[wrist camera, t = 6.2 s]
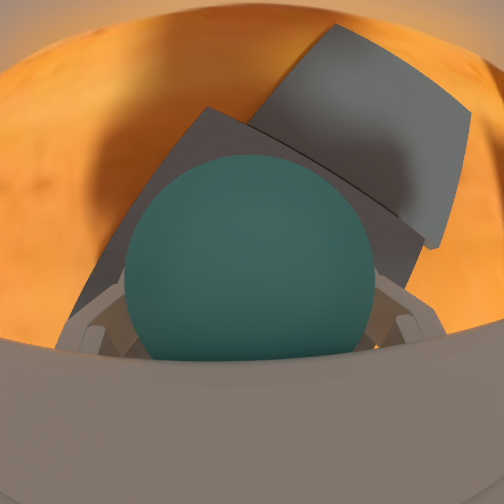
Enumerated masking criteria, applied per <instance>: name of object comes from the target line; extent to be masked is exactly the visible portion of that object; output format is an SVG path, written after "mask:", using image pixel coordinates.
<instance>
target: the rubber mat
mask: <svg viewBox="0 0 504 504" xmlns="http://www.w3.org/2000/svg"><path fill="white" fill-rule="evenodd" d="M470 119H471V112H470V111H469V110H467V109H466V108H465V107H464V106H463V105H462V104H461V103H459V102H458V101H457V100H456V99H455V98H454V97H452V96H451V95H450V94H449V93H447V92H446V91H445V90H444V89H442V88H441V87H440V86H439V85H437V84H436V83H435V82H433V81H432V80H431V79H429V78H428V77H426V76H425V75H424V74H422V73H421V72H419V71H418V70H417V69H415V68H414V67H412V66H411V65H409V64H408V63H406V62H405V61H403V60H402V59H400V58H398V57H397V56H395V55H394V54H392V53H390V52H389V51H387V50H385V49H384V48H382V47H380V46H378V45H377V44H375V43H373V42H371V41H369V40H368V39H366V38H364V37H362V36H360V35H358V34H356V33H354V32H352V31H350V30H348V29H346V28H344V27H342V26H340V25H338V24H335V25H334V26H333V27H332V28H331V29H330V30H329V31H328V32H327V33H326V34H325V35H324V36H323V37H322V38H321V39H320V40H319V41H318V42H317V43H316V44H315V45H314V46H313V48H312V49H311V50H310V51H309V52H308V53H307V54H306V55H305V56H304V57H303V58H302V60H301V61H300V62H299V63H298V64H297V65H296V66H295V67H294V68H293V70H292V71H291V72H290V73H289V74H288V75H287V76H286V78H285V79H284V80H283V81H282V82H281V83H280V84H279V86H278V87H277V88H276V89H275V90H274V92H273V93H272V94H271V95H270V96H269V97H268V99H267V100H266V101H265V102H264V103H263V105H262V106H261V107H260V108H259V110H258V111H257V112H256V113H255V115H254V116H253V117H252V118H251V120H250V121H249V122H248V123H247V125H248V126H250V127H251V128H253V129H255V130H257V131H259V132H261V133H263V134H265V135H267V136H269V137H271V138H272V139H274V140H276V141H278V142H280V143H282V144H283V145H285V146H287V147H289V148H291V149H292V150H294V151H296V152H298V153H299V154H301V155H303V156H305V157H306V158H308V159H310V160H311V161H313V162H315V163H316V164H318V165H320V166H321V167H323V168H325V169H326V170H328V171H329V172H331V173H333V174H334V175H336V176H337V177H339V178H341V179H342V180H344V181H345V182H347V183H348V184H350V185H351V186H353V187H354V188H356V189H357V190H359V191H360V192H362V193H363V194H365V195H366V196H368V197H369V198H371V199H372V200H374V201H375V202H376V203H378V204H379V205H381V206H382V207H384V208H385V209H386V210H388V211H389V212H390V213H392V214H393V215H395V216H396V217H397V218H399V219H400V220H401V221H403V222H404V223H405V224H407V225H408V226H409V227H411V228H412V229H413V230H415V231H416V232H417V233H418V234H420V235H421V236H422V237H423V238H425V241H424V244H423V245H424V246H426V247H427V248H428V249H430V250H432V249H436V248H439V245H440V243H441V240H442V237H443V234H444V231H445V228H446V225H447V221H448V218H449V215H450V212H451V208H452V205H453V201H454V198H455V194H456V190H457V186H458V182H459V178H460V174H461V169H462V165H463V160H464V155H465V150H466V145H467V139H468V133H469V126H470Z"/></svg>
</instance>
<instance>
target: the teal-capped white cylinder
mask: <svg viewBox="0 0 504 504" xmlns="http://www.w3.org/2000/svg"><path fill="white" fill-rule="evenodd" d="M124 291H125V298H126V305H127V309H128V312H129V316H130V319H131V322H132V325H133V327H134V329H135V332H136V334H137V336H138V338H139V340H140V342H141V343H142V345H143V347H144V348H145V350H146V351H147V353H148V354H149V355H150V356H151V358H152V359H153V360H170V361H255V360H275V359H291V358H303V357H314V356H324V355H333V354H341V353H349V352H353V350H354V349H355V347H356V346H357V344H358V343H359V341H360V339H361V337H362V335H363V333H364V331H365V329H366V326H367V323H368V320H369V317H370V314H371V311H372V306H373V301H374V294H375V265H374V259H373V254H372V249H371V246H370V243H369V240H368V237H367V234H366V231H365V229H364V227H363V225H362V223H361V221H360V219H359V217H358V216H357V214H356V213H355V211H354V210H353V208H352V207H351V205H350V204H349V203H348V202H347V200H346V199H345V198H344V197H343V196H342V195H341V193H340V192H339V191H338V190H336V189H335V188H334V187H333V186H332V185H331V184H330V183H329V182H327V181H326V180H325V179H323V178H322V177H320V176H319V175H317V174H316V173H314V172H312V171H311V170H309V169H307V168H305V167H303V166H301V165H298V164H296V163H293V162H290V161H288V160H284V159H280V158H276V157H271V156H263V155H235V156H229V157H222V158H219V159H215V160H212V161H208V162H206V163H203V164H201V165H199V166H196V167H194V168H192V169H190V170H189V171H187V172H185V173H184V174H182V175H180V176H179V177H177V178H176V179H175V180H173V181H172V182H171V183H170V184H168V185H167V186H166V187H165V188H164V189H163V190H162V191H161V192H160V193H159V194H158V195H157V196H156V197H155V198H154V199H153V201H152V202H151V203H150V204H149V206H148V207H147V208H146V210H145V211H144V213H143V215H142V216H141V218H140V220H139V222H138V223H137V225H136V228H135V230H134V232H133V235H132V237H131V240H130V243H129V247H128V251H127V255H126V262H125V270H124Z"/></svg>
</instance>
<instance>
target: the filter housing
mask: <svg viewBox="0 0 504 504" xmlns="http://www.w3.org/2000/svg"><path fill="white" fill-rule="evenodd" d="M235 155H263V156H271V157H276V158H280V159H284V160H288V161H290V162H293V163H296V164H298V165H301V166H303V167H305V168H307V169H309V170H311V171H312V172H314V173H316V174H317V175H319V176H320V177H322V178H323V179H325V180H326V181H327V182H329V183H330V184H331V185H332V186H333V187H334V188H335V189H336V190H338V191H339V192H340V193H341V195H342V196H343V197H344V198H345V199H346V200H347V202H348V203H349V204H350V205H351V207H352V208H353V210H354V211H355V213H356V214H357V216H358V217H359V219H360V221H361V223H362V225H363V227H364V229H365V231H366V234H367V237H368V240H369V243H370V246H371V249H372V254H373V259H374V265H375V268H376V270H377V272H378V273H379V275H380V276H385V277H386V278H388V279H389V280H391V281H392V282H394V283H395V284H397V285H398V286H400V287H401V288H403V289H405V286H406V284H407V282H408V280H409V278H410V275H411V273H412V271H413V268H414V266H415V264H416V261H417V259H418V256H419V254H420V252H421V249H422V246H423V244H424V241H425V238H423V237H422V236H421V235H420V234H418V233H417V232H416V231H415V230H413V229H412V228H411V227H409V226H408V225H407V224H405V223H404V222H403V221H401V220H400V219H399V218H397V217H396V216H395V215H393V214H392V213H390V212H389V211H388V210H386V209H385V208H384V207H382V206H381V205H379V204H378V203H376V202H375V201H374V200H372V199H371V198H369V197H368V196H366V195H365V194H363V193H362V192H360V191H359V190H357V189H356V188H354V187H353V186H351V185H350V184H348V183H347V182H345V181H344V180H342V179H341V178H339V177H337V176H336V175H334V174H333V173H331V172H329V171H328V170H326V169H325V168H323V167H321V166H320V165H318V164H316V163H315V162H313V161H311V160H310V159H308V158H306V157H305V156H303V155H301V154H299V153H298V152H296V151H294V150H292V149H291V148H289V147H287V146H285V145H283V144H282V143H280V142H278V141H276V140H274V139H272V138H271V137H269V136H267V135H265V134H263V133H261V132H259V131H257V130H255V129H253V128H251V127H250V126H248V125H246V124H244V123H242V122H240V121H238V120H235V119H233V118H231V117H229V116H227V115H225V114H223V113H221V112H219V111H217V110H214V109H212V108H210V107H208V106H207V108H206V109H205V110H204V111H203V112H202V113H201V114H200V116H199V117H198V118H197V119H196V120H195V122H194V123H193V124H192V125H191V126H190V128H189V129H188V130H187V131H186V132H185V134H184V135H183V136H182V137H181V139H180V140H179V141H178V142H177V144H176V145H175V146H174V148H173V149H172V150H171V151H170V153H169V154H168V155H167V157H166V158H165V159H164V161H163V162H162V163H161V165H160V166H159V167H158V169H157V170H156V172H155V173H154V174H153V176H152V177H151V178H150V180H149V181H148V183H147V184H146V186H145V187H144V188H143V190H142V191H141V193H140V194H139V196H138V197H137V199H136V200H135V202H134V203H133V205H132V206H131V208H130V209H129V211H128V212H127V214H126V215H125V217H124V218H123V220H122V222H121V223H120V225H119V226H118V228H117V230H116V231H115V233H114V235H113V236H112V238H111V239H110V241H109V243H108V245H107V246H106V248H105V250H104V251H103V253H102V255H101V257H100V258H99V260H98V262H97V264H96V265H95V267H94V269H93V271H92V273H91V275H90V276H89V278H88V280H87V282H86V284H85V286H84V288H83V290H82V292H81V294H80V296H79V298H78V300H77V302H76V304H75V306H74V308H73V310H72V312H71V314H70V316H69V318H68V320H69V319H70V318H71V317H72V316H74V315H75V314H76V313H77V312H79V311H80V310H81V309H82V308H84V307H85V306H86V305H87V304H89V303H90V302H91V301H92V300H94V299H95V298H96V297H98V296H99V295H100V294H101V293H103V292H104V291H105V290H107V289H108V288H109V287H110V286H112V285H113V284H117V283H118V281H119V279H120V276H121V274H122V272H123V269H124V267H125V262H126V255H127V251H128V247H129V243H130V240H131V237H132V235H133V232H134V230H135V228H136V225H137V223H138V222H139V220H140V218H141V216H142V215H143V213H144V211H145V210H146V208H147V207H148V206H149V204H150V203H151V202H152V201H153V199H154V198H155V197H156V196H157V195H158V194H159V193H160V192H161V191H162V190H163V189H164V188H165V187H166V186H167V185H168V184H170V183H171V182H172V181H173V180H175V179H176V178H177V177H179V176H180V175H182V174H184V173H185V172H187V171H189V170H190V169H192V168H194V167H196V166H199V165H201V164H203V163H206V162H208V161H212V160H215V159H219V158H222V157H229V156H235ZM375 345H376V344H375V343H374V342H373V341H372V340H371V339H370V338H369V337H368V336H367V335H366V334H365V333H363V335H362V337H361V339H360V341H359V343H358V344H357V346H356V347H355V349H354V350H353V352H357V351H364V350H370V349H373V348H374V347H375ZM123 358H136V359H150V360H153V359H152V358H151V356H150V355H149V354H148V353H147V351H146V350H145V348H144V347H143V345H142V343H141V342H140V340H139V338H138V339H137V340H136V342H135V343H134V344H133V345H132V346H131V347H130V349H129V350H128V351H127V352H126V353H125V354H124V356H123Z"/></svg>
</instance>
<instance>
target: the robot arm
mask: <svg viewBox="0 0 504 504" xmlns="http://www.w3.org/2000/svg"><path fill="white" fill-rule="evenodd" d="M124 270H125V267H124V269H123V272H122V274H121V276H120V279H119V281H118V283H117V284H113V285H112V286H110V287H109V288H108V289H107V290H105V291H104V292H103V293H101V294H100V295H99V296H98V297H96V298H95V299H94V300H92V301H91V302H90V303H89V304H87V305H86V306H85V307H84V308H82V309H81V310H80V311H79V312H77V313H76V314H75V315H74V316H72V317H71V318H70V319H69V320H67V321H66V323H65V325H64V327H63V330H62V332H61V334H60V337H59V339H58V342H57V344H56V346H55V349H53V348H47V347H42V346H36V345H31V344H26V343H21V342H17V341H12V340H8V339H4V338H0V504H504V319H501V320H498V321H495V322H491V323H488V324H485V325H481V326H478V327H474V328H471V329H467V330H463V331H459V332H455V333H451V334H446V332H445V330H444V328H443V326H442V324H441V322H440V321H439V319H438V317H437V315H436V313H435V311H434V309H432V308H431V307H429V306H428V305H426V304H425V303H424V302H422V301H421V300H419V299H418V298H416V297H415V296H413V295H412V294H410V293H409V292H407V291H406V290H404V289H403V288H401V287H400V286H398V285H397V284H395V283H394V282H392V281H391V280H389V279H388V278H386V277H385V276H380V275H379V273H378V272H377V270H376V268H375V294H374V301H373V306H372V311H371V314H370V317H369V320H368V323H367V326H366V329H365V331H364V333H365V334H366V335H367V336H368V337H369V338H370V339H371V340H372V341H373V342H374V343H375V344H376V345H377V346H378V347H379V348H377V349H370V350H364V351H357V352H349V353H341V354H333V355H324V356H314V357H303V358H291V359H275V360H255V361H170V360H150V359H136V358H123V356H124V354H125V353H126V352H127V351H128V350H129V349H130V347H131V346H132V345H133V344H134V343H135V342H136V340H137V339H138V336H137V334H136V332H135V329H134V327H133V325H132V322H131V319H130V316H129V312H128V309H127V305H126V298H125V291H124Z"/></svg>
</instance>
